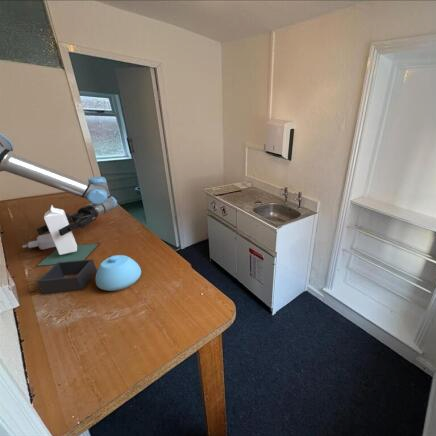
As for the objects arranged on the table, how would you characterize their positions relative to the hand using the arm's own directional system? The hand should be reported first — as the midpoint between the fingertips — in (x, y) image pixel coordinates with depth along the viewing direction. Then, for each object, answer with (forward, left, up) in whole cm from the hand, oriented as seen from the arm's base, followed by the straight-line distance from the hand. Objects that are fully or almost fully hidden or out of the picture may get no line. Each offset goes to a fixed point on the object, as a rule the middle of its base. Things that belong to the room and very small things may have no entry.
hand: (49, 232), depth 99 cm
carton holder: (+12, -17, -14) cm, 26 cm away
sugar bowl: (+30, -20, -14) cm, 39 cm away
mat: (+1, +5, -14) cm, 15 cm away
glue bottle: (-13, +15, -14) cm, 25 cm away
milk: (+1, +5, -12) cm, 13 cm away
